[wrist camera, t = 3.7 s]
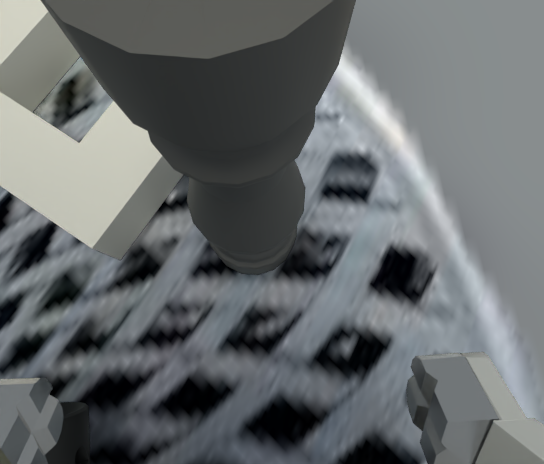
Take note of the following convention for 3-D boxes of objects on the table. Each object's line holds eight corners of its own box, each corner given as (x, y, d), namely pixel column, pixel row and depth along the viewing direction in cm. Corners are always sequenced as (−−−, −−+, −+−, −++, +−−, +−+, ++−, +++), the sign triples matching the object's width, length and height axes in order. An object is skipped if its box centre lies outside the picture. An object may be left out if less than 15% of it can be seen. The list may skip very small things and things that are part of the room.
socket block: (-64, 134, 32) (-124, 101, 27) (81, -29, 36) (51, -84, 31) (120, 260, 30) (91, 248, 25) (256, 75, 34) (254, 33, 29)
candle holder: (259, 292, 30) (218, 162, 5) (194, 239, 31) (-98, -79, 6) (311, 226, 31) (471, -129, 7) (247, 177, 32) (173, -304, 7)
